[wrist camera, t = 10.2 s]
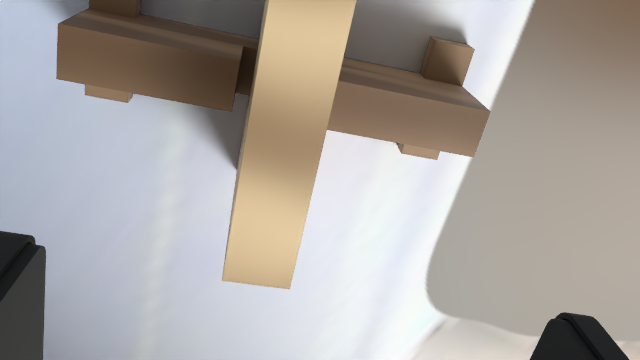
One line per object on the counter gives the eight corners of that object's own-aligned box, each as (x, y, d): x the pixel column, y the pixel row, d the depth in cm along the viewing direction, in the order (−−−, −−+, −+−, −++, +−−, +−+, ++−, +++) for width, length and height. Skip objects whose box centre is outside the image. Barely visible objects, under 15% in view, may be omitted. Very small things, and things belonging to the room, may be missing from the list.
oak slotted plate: (284, 178, 30) (289, 289, 21) (236, 170, 30) (222, 280, 21) (332, -54, 25) (365, -39, 16) (276, -67, 25) (278, -58, 16)
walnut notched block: (432, 152, 30) (460, 193, 26) (90, 89, 27) (55, 122, 23) (468, 44, 28) (506, 69, 23) (97, -39, 25) (59, -28, 20)
